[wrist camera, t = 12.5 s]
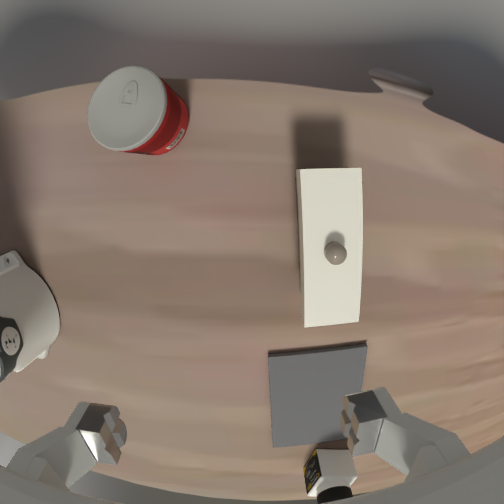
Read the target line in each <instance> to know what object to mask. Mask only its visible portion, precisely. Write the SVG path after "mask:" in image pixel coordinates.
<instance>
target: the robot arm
mask: <svg viewBox="0 0 504 504" xmlns="http://www.w3.org/2000/svg"><path fill="white" fill-rule="evenodd" d="M59 328H60V319H59V313H58V308H57V305H56V302H55V300H54V298H53V295H52V293H51V292H50V290H49V288H48V287H47V285H46V284H45V282H44V281H43V280H42V279H41V277H40V276H39V275H38V274H37V273H35V272H34V271H33V270H32V269H30V268H29V267H28V266H27V265H26V264H25V263H24V262H23V260H22V259H21V257H20V256H19V254H18V253H17V252H16V251H14V250H12V251H10V252H7V253H5V254H3V255H1V256H0V382H1V381H3V380H4V379H6V378H7V377H8V376H9V375H10V373H11V372H12V371H16V372H19V371H21V370H22V369H23V368H25V367H26V366H27V365H28V364H30V363H31V362H32V361H33V360H34V359H36V358H40V359H44V358H45V357H46V356H47V355H48V351H49V346H50V345H51V344H52V343H53V342H54V341H55V339H56V338H57V336H58V333H59ZM342 404H343V407H344V409H343V411H342V412H341V417H340V421H341V429H342V432H343V435H344V436H345V437H347V438H348V441H347V446H348V448H349V451H350V453H351V456H352V457H354V456H359V455H364V454H368V453H373V452H374V453H375V454H376V455H378V456H379V457H381V458H382V459H383V460H385V461H386V462H388V463H389V464H391V465H392V466H393V467H395V468H396V469H398V470H399V471H401V472H402V473H404V474H405V475H407V478H406V479H405V481H404V482H403V483H400V484H397V485H394V486H391V487H388V488H384V489H381V490H378V491H374V492H370V493H367V494H363V495H359V496H355V497H351V498H346V499H342V500H337V501H332V502H327V503H321V504H504V436H503V437H501V438H500V439H498V440H496V441H495V442H493V443H491V444H489V445H487V446H486V447H484V448H482V449H480V450H478V451H476V452H474V453H472V454H470V453H469V451H468V450H467V449H466V447H465V446H464V444H463V443H462V442H461V440H460V439H459V438H458V436H457V435H456V434H455V433H453V432H450V431H448V430H445V429H443V428H440V427H438V426H436V425H433V424H431V423H428V422H426V421H424V420H421V419H419V418H417V417H414V416H412V415H410V414H408V413H401V411H400V410H399V408H398V407H397V405H396V404H395V402H394V400H393V399H392V397H391V396H390V394H389V393H388V391H387V390H386V388H385V387H379V388H375V389H371V390H367V391H362V392H358V393H353V394H348V395H344V397H343V401H342ZM119 415H120V412H119V410H118V408H117V407H116V406H112V405H104V404H97V403H88V402H80V403H78V405H77V406H76V408H75V410H74V411H73V413H72V414H71V416H70V418H69V419H68V421H67V423H66V424H65V426H64V427H59V428H57V429H55V430H54V431H52V432H50V433H48V434H46V435H44V436H42V437H40V438H39V439H37V440H35V441H33V442H31V443H29V444H27V445H25V446H23V447H21V448H19V449H18V450H17V452H16V453H15V455H14V456H13V458H12V460H11V461H10V463H9V464H8V466H7V467H6V468H5V467H3V466H1V465H0V504H122V503H117V502H112V501H107V500H102V499H98V498H93V497H89V496H85V495H82V494H78V493H74V492H71V491H70V490H69V489H68V487H70V486H71V485H72V484H73V483H75V482H76V481H77V480H78V479H79V478H81V476H83V475H84V474H85V473H86V472H87V471H89V470H90V469H91V468H92V467H94V466H95V465H96V464H97V462H99V463H105V464H112V465H117V464H118V461H119V458H120V455H121V451H120V449H119V448H120V447H122V446H123V445H125V442H126V437H127V431H126V426H125V424H124V422H123V421H122V420H121V419H120V418H118V417H119Z"/></svg>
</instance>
